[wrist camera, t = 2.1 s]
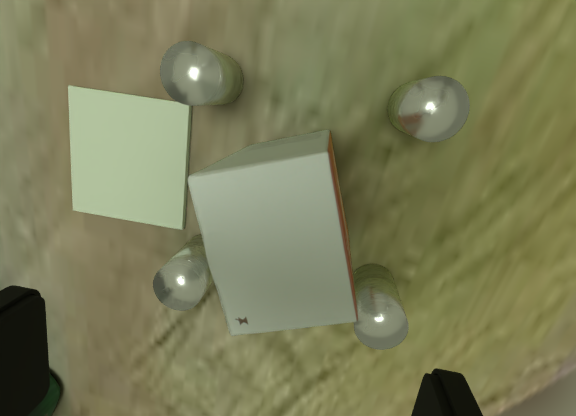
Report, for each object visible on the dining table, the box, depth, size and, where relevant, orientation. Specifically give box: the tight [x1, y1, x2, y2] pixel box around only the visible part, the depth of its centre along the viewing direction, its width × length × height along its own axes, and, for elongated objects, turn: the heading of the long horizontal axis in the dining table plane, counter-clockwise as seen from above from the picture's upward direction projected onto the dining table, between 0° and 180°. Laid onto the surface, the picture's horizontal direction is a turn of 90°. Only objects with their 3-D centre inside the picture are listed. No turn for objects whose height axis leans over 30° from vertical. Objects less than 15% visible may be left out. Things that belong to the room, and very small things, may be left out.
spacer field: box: [153, 41, 470, 350], centre depth 25 cm, size 18×18×6 cm
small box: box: [188, 130, 358, 336], centre depth 22 cm, size 8×6×13 cm
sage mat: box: [68, 86, 192, 230], centre depth 29 cm, size 10×10×1 cm
